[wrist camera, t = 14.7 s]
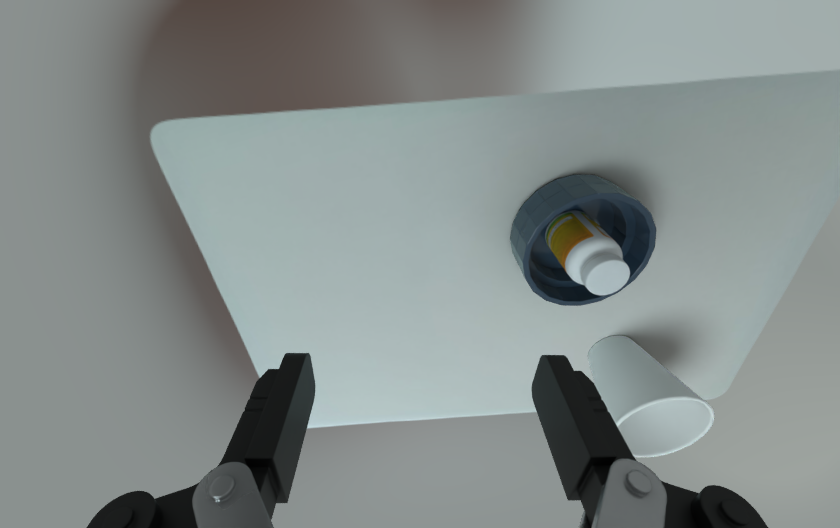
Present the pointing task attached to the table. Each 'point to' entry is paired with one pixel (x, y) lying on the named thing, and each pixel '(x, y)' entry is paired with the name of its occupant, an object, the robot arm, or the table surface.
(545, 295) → the bowl
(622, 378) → the cup
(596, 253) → the supplement bottle
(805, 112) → the table surface
